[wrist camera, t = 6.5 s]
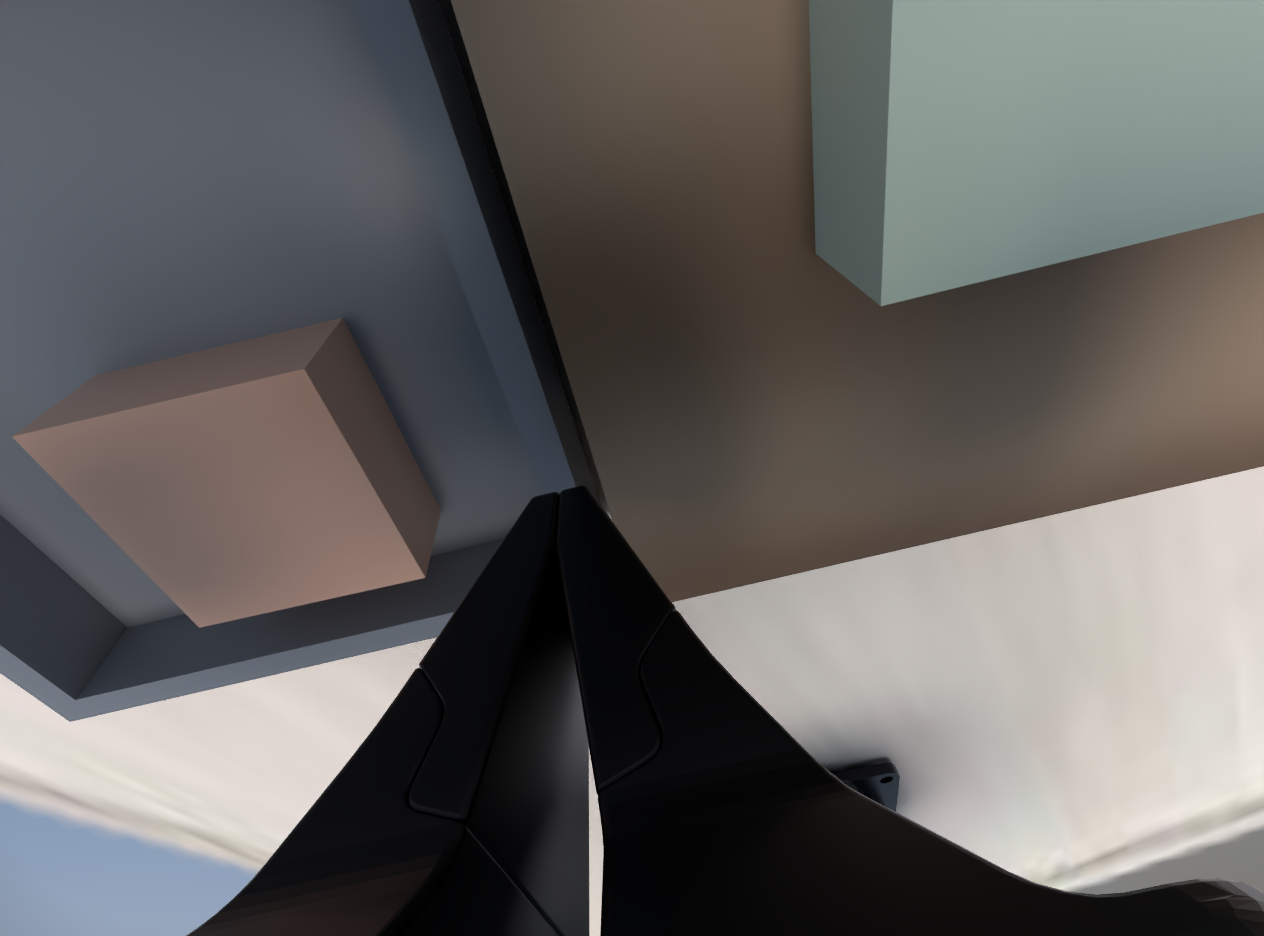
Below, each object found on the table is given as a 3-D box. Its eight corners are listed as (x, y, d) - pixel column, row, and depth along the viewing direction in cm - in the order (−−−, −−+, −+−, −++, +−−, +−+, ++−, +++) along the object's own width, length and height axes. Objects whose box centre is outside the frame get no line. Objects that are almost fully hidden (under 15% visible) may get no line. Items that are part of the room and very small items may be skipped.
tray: (605, 518, 14) (613, 596, 12) (135, 628, 15) (69, 721, 13) (376, -196, 7) (309, -286, 5) (-505, 54, 8) (-877, 58, 6)
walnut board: (1210, 375, 14) (1349, 446, 11) (625, 513, 14) (640, 609, 12) (1589, -540, 7) (2157, -858, 4) (415, -208, 7) (348, -330, 5)
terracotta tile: (199, 627, 12) (242, 555, 13) (425, 577, 11) (441, 510, 13) (11, 436, 9) (94, 375, 10) (304, 368, 9) (342, 317, 10)
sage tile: (1146, 171, 8) (1297, 203, 6) (815, 253, 8) (881, 306, 7) (1295, -368, 5) (1620, -547, 4) (803, -232, 6) (906, -343, 4)
